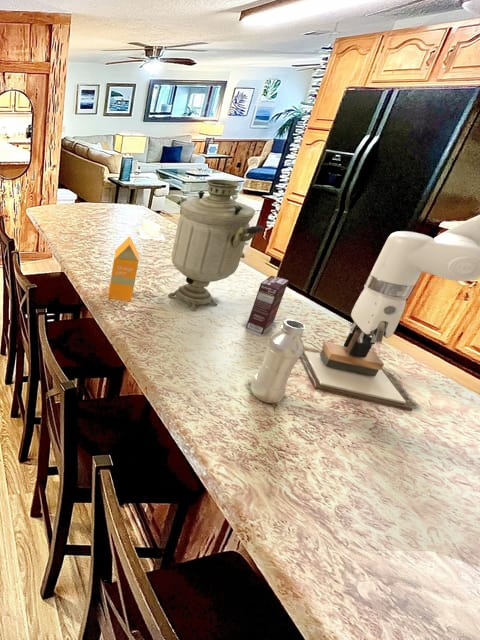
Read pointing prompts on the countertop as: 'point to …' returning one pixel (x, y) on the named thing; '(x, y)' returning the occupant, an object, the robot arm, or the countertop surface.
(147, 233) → the napkin holder
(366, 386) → the tile board
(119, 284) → the orange juice
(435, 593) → the countertop surface
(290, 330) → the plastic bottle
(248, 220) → the samovar
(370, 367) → the scrub brush
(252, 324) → the supplement box
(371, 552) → the countertop surface
